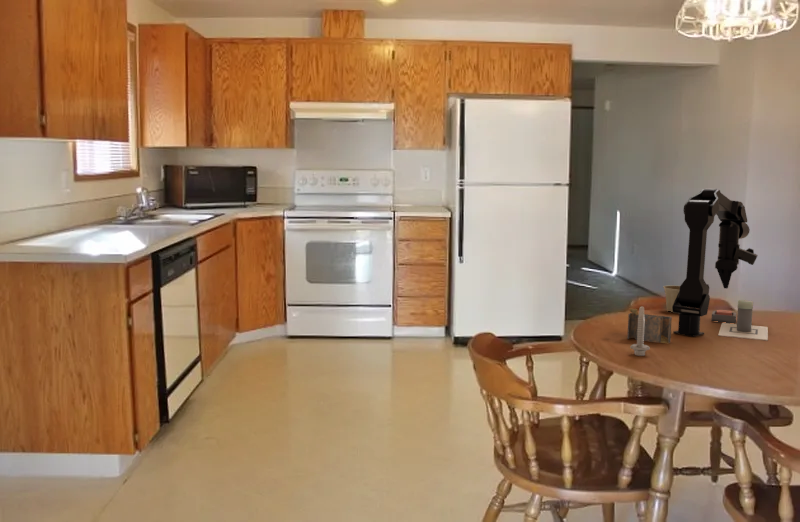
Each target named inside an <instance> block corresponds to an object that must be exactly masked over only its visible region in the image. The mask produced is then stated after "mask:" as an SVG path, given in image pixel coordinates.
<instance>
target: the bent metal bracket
mask: <svg viewBox="0 0 800 522" xmlns="http://www.w3.org/2000/svg"><path fill="white" fill-rule="evenodd" d="M644 315H645V316H644V317H645V318H644V319H645V321H644V322H645V323H644V324H645V325H644V326H645V327H644V338H643V339H644V341H643V342H650V343H660V344H667V345H670V343H671V338H672V322H673V321H672V319H673V317H672V316H668V315H667V316H665V315H656V314H645V313H644ZM627 316H628V317H627V320H628V321H627V336H626V337H627V340H629V339H631V338H632V339H635V341H637V335H638V332H637V331H638V330H637V329H638V328H637V327H638V317H639V309H638V308H630V307H629V313H628V315H627Z"/></svg>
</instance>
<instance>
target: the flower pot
mask: <svg viewBox="0 0 800 522" xmlns="http://www.w3.org/2000/svg"><path fill="white" fill-rule="evenodd" d="M680 286H681V285H673V284H672V285H663V287H662V288H663V289H664V293H665V303H666V311H667V312H668V311H671V312H673V310H672V306H673V304H674V301H675V299H676V297H677V295H678V292H679V289H680ZM671 312H670V313H671Z"/></svg>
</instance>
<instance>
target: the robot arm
mask: <svg viewBox="0 0 800 522" xmlns="http://www.w3.org/2000/svg"><path fill="white" fill-rule="evenodd" d="M683 214H684V222H685V223H686V226H687V227H688V229H689V232H688V233H689V237H688V249H687V263H686V264H687V265H686V276H685V279H684V280H683V282H682V283H681V284H680V285H679V286H680V289H679V292H678V295H677V297H676V299H675V301H674V304H673V306H672V310H673V314H678V329H677V330H674V331H673V334H677V335H682V336H686V337H691V338H692V337H693V338H694V337H698V336H703V335H705V332H703V331H700V328H701V317H704V316H707V315H708V310H709V306H710V301H711V300H710V299H711V297H710V294H709V293H710V285H709V284H707V283H706V281H705V280H704V277H705V276H704V275H705V261H706V251H707V250H706V249H707V239H708V238H707V235H708V230H709V229H710V227H711V226H712V224H713V223H714V221H715V216H717V219H718V220H719V221H720V222H719V224H718V227H719V237H718V245H717V246H718V253H717V260H716V261H715V265H714V269H716V270H717V273H718V275H719V280H720V281H721V284H722V286H723V289H729V287H730V286H729V285H730V281H731V277H732V275H733V273H734V272H735V271H737V270H738V265H739V263H740V261H743V262H745V263H748V264H749V265H753V266H754V265H755V262H756V260H757V258H758V254H756V253H755V252H754V249H753V248H750V247H749V248H747V249H743V248H740V245H741V244H739V240H740V239H741V240H742V239H745V238H746V237H747V236H748V235H749V234H750V226H749V225H748V224H747V223H748V216H747V211H746V207H745V205H744V203H743V202H742V201H738V200H732V199H730V198H728V197H727V196H726V195H725V194H723V193H722V192H721V190H720V189H718V188H704V189H701V190H700V192H698V193H697V194H695V195H693V196H691V197H689V198H688V200H687V201H686V202H685V203H684V205H683Z"/></svg>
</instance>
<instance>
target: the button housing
mask: <svg viewBox="0 0 800 522" xmlns="http://www.w3.org/2000/svg"><path fill="white" fill-rule="evenodd" d="M716 312H717V310H712V313H711V321H718V322H717V323H719V322H726V323H735V324H736V323H737V312H733V311H732V316H731V315H720V314H716Z"/></svg>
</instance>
